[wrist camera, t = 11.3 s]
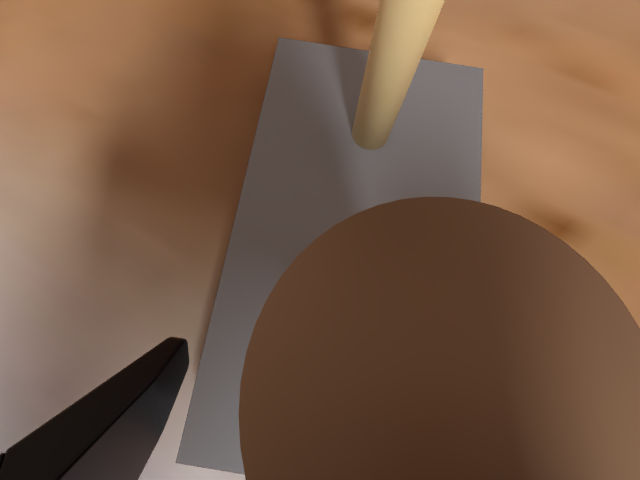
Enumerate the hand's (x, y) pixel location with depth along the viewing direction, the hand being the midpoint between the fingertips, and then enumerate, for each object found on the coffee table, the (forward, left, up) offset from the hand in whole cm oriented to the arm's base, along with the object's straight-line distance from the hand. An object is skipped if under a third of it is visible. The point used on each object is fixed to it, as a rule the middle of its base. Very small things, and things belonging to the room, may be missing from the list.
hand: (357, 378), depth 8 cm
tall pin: (+1, 0, -8) cm, 8 cm away
